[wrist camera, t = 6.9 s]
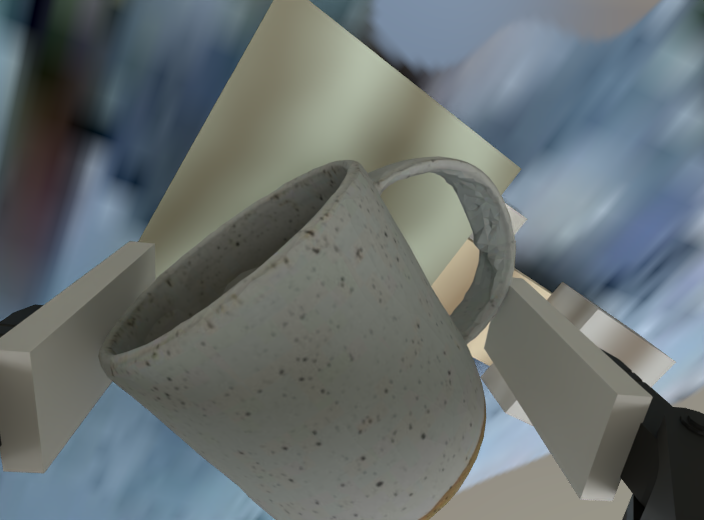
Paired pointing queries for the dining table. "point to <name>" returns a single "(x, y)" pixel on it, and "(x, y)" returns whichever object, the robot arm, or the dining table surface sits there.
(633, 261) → the dining table surface
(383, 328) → the ceramic mug
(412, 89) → the balance beam
